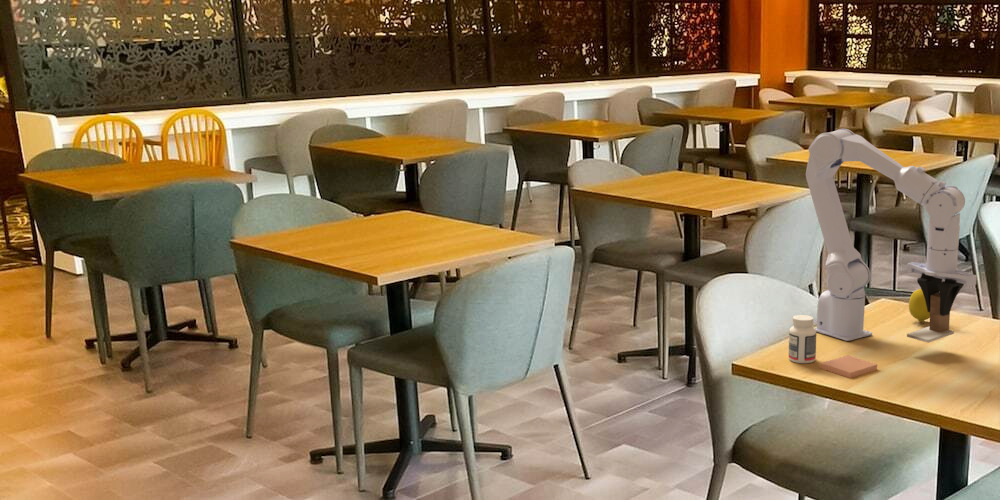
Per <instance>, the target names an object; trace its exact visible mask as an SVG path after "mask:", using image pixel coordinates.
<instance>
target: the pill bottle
mask: <svg viewBox="0 0 1000 500" xmlns="http://www.w3.org/2000/svg"><path fill="white" fill-rule="evenodd" d="M791 323H792V326H791V327H790V328H789V332H788V359H789V361H790V362H794V363H795V364H810V363H813V362H815V361H816V360H817V359H816V356H817V332H816V329H815V328H816V327H814V317H813V316H811V315H806V314H796V315H794V316H792V322H791Z"/></svg>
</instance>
